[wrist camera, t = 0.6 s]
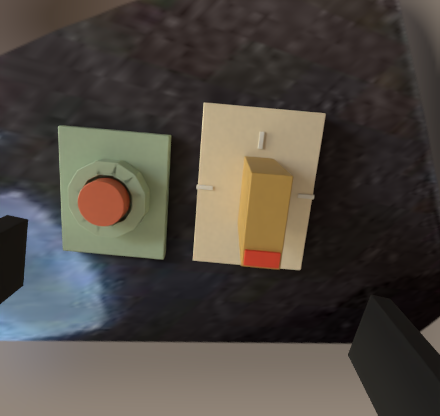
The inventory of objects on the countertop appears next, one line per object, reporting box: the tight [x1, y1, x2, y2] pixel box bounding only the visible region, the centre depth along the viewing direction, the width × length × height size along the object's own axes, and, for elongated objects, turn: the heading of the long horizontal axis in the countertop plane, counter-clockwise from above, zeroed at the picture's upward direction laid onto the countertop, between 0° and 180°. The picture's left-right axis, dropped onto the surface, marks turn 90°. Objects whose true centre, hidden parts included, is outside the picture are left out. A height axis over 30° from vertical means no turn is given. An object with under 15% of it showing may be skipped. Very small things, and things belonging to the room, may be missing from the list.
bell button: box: [78, 178, 130, 226], centre depth 29 cm, size 4×4×2 cm
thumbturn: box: [238, 156, 293, 270], centre depth 25 cm, size 6×2×9 cm, turn 175°
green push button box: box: [58, 125, 171, 259], centre depth 31 cm, size 12×10×3 cm
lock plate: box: [193, 103, 326, 270], centre depth 30 cm, size 14×10×3 cm
